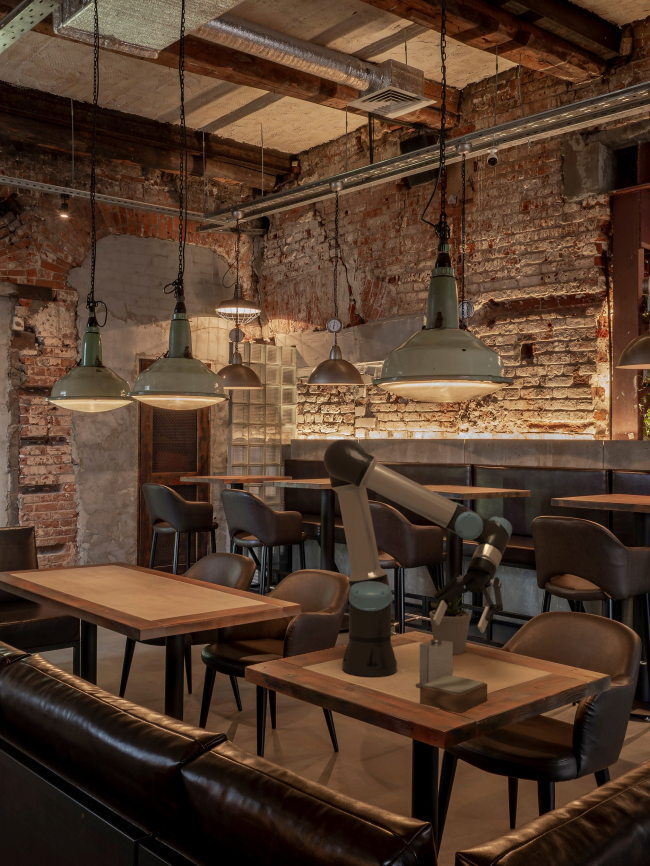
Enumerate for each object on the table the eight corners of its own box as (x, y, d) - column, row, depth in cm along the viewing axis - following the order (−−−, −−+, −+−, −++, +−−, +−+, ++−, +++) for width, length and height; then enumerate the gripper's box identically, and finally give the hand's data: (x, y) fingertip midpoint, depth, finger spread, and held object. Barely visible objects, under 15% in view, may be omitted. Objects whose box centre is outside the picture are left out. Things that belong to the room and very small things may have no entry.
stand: (420, 703, 191) (420, 684, 191) (447, 691, 201) (447, 673, 201) (460, 713, 184) (460, 693, 184) (487, 700, 194) (487, 682, 194)
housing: (415, 687, 205) (416, 641, 205) (434, 680, 212) (435, 635, 212) (437, 692, 201) (437, 645, 201) (455, 684, 208) (456, 638, 208)
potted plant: (481, 651, 244) (481, 585, 244) (454, 659, 234) (454, 590, 235) (447, 644, 253) (448, 580, 253) (420, 651, 243) (421, 585, 244)
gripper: (529, 577, 220) (504, 641, 208) (450, 568, 236) (423, 627, 224) (521, 559, 216) (495, 624, 204) (441, 552, 232) (413, 611, 220)
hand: (457, 626), depth 214 cm, fingers open, 13 cm apart
